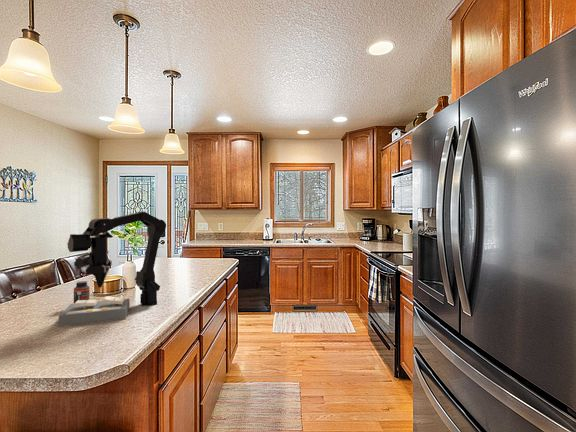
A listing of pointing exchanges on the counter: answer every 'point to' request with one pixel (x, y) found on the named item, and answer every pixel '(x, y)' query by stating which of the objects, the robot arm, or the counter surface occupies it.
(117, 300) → the block
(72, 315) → the console
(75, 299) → the supplement bottle
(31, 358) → the counter surface
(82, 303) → the panel
